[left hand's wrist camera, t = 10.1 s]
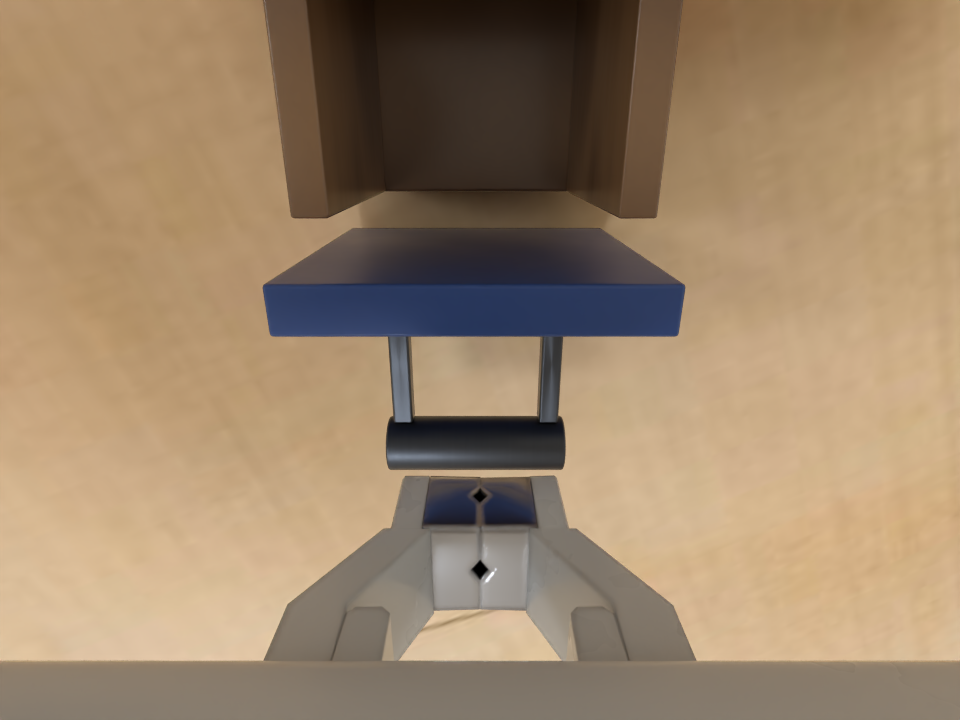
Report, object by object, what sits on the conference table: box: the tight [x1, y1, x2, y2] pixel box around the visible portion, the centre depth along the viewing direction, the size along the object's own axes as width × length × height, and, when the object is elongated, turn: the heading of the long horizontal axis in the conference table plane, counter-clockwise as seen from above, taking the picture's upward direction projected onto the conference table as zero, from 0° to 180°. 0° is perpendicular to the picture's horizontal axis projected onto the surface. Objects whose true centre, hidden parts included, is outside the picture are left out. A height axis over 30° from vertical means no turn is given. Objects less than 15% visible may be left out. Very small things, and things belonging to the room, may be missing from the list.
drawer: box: [263, 0, 685, 470], centre depth 14 cm, size 19×9×8 cm, turn 0°
